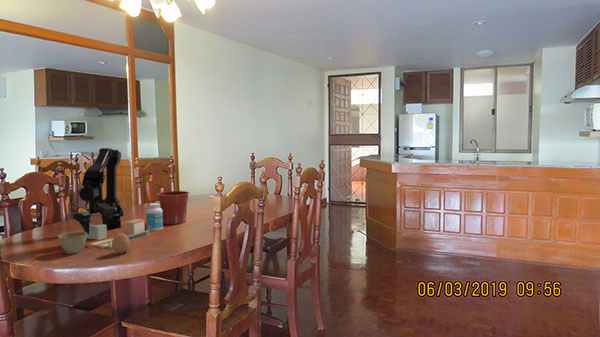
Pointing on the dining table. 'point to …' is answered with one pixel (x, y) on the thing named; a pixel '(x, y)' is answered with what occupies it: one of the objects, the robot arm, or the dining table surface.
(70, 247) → the bowl
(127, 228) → the carton
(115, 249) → the egg
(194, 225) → the dining table surface
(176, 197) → the flower pot
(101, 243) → the shelf
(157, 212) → the pill bottle
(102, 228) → the pale green block
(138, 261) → the dining table surface
